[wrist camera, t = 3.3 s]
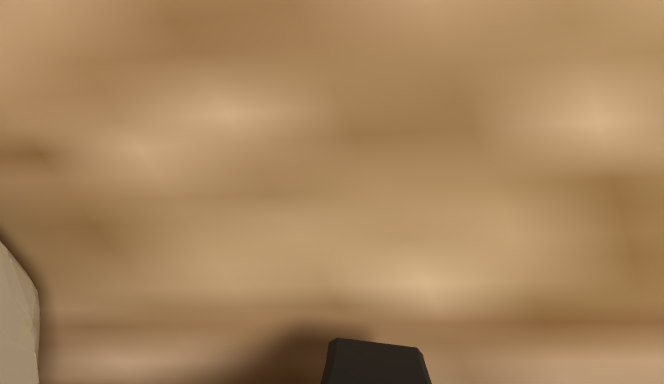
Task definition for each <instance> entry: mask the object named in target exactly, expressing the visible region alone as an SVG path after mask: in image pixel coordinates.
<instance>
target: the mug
mask: <svg viewBox="0 0 664 384" xmlns="http://www.w3.org/2000/svg"><path fill="white" fill-rule="evenodd" d="M39 333H40V306H39V298H38V291H37V289H36V288H35V286H34V284H33V283H32V281H31V279H30V278H29V276H28V274H27V272H26V271H25V270H24V269H23V267H22V266H21V265H20V264H19V263H18V261H17V260H16V259H15V258H14V257H13V255H12V254H11V253H10V252H9V250H8V249H7V248H6V247H5V246H4V244H3V243H2V242H1V241H0V384H39V377H38V356H39Z"/></svg>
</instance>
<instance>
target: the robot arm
mask: <svg viewBox="0 0 664 384" xmlns="http://www.w3.org/2000/svg"><path fill="white" fill-rule="evenodd" d="M321 384H432V383H431V380H430V377H429V374H428V371H427V368H426V365H425V361H424V358H423V354H422V353H421V352H420V351H419V350H418V348H415V347H407V346H399V345H391V344H383V343H375V342H367V341H359V340H351V339H343V338H336V339H334V340H332V341H331V342H329V346H328V353H327V360H326V365H325V369H324V373H323V377H322V380H321Z"/></svg>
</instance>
